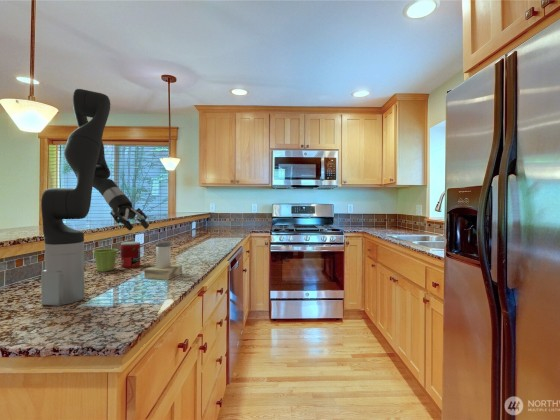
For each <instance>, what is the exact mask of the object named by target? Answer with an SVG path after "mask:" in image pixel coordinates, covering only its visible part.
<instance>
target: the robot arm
mask: <svg viewBox="0 0 560 420" xmlns="http://www.w3.org/2000/svg"><path fill="white" fill-rule="evenodd" d="M72 109H73V112H74V116H75V120H76V124H77V128H76V129H74V130H73V131H72V132H71V133H70V134H69V135H68V137H67V139H66V140H67V141H66V142H65V143H66V144H65V147H64V150H63V154H64V158H65V160H66V162H67V164H68V165H69V167H70V169H71V170H72V171H73V173H74V175H75V177H76V186H75V187H49V188H46V189H45V190H44V191H43V194H42V196H41V201H40V203H41V205H40V206H41V208H40V209H41V217H42V218H41V220H42V233H43V238H44V270H42V271H41V273H40V274H41V275H40V276H41V279H40V281H41V285H40V286H41V290H40V291H41V305H45V306H53V307H55V306H56V307H60V306H64V305H69V304H72V303H76V302H79V301H82V300H83V299H85V234H84V232H82V231H80V230H77V229H74V228H71V227H69V226H67V225H66V224H65V223H64V221H63V220H83V219H85V218H86V217H87V216H88V215H89V212H90V208H91V202H92V193H93V192H92V191H93V188H94V189H95V190H97V192H99V193H100V195H101V197H103V199H104V201H105V202H106V204H107V205H108V206H109V207H110V209H111V211H110V213H109V214H110V215H111V217H112V218H113V220H114V221H115V222H116V224H121V225H124V227H125V228H126V229H127V230H128V231H132V230H133V229H134V226H133V224H132V223H131V222H130V220H133V221H134V222H135V221H136V222H138V223H140V225H141V226H142V227H143V228H144V229H145V230H146V229H148V228H149V227H150V224H149V223H148V222H147V219H148V216H147V215H146V214H145V213H144V212H143V209H141V208H140V207H138V208H137V209H135V208H134V207H133V203H132V201H131V200H130V198H128V196H127V195H126V194H125V193H124V191H123V190H121V188H120V187H119V186H118V185H117V183H115V181H114V180H113V179H111V178H110V177H111V170H110V168H109V166H108V163H107V160H106V156H105V146H104V142H103V135H104V131H105V128H106V125H107V122H108V118H109V115H110V111H111V99H110V98H109V96H108V95H107V94H104V93H101V92H99V91H98V92H97V91H92V90H88V89H83V88H76V89H75V90H74V91H73V94H72ZM88 118H90V120H89V119H88Z"/></svg>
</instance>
